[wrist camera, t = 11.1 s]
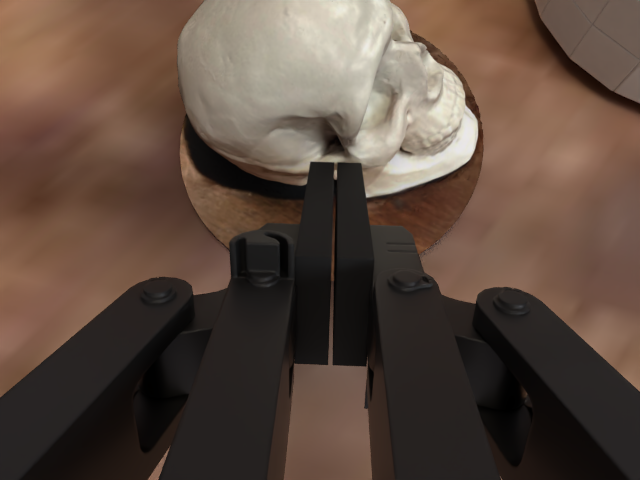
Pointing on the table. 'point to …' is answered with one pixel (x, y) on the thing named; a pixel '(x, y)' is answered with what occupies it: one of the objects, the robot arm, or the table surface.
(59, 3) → the table surface
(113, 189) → the table surface
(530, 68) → the table surface
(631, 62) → the saucepan
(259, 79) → the skull
